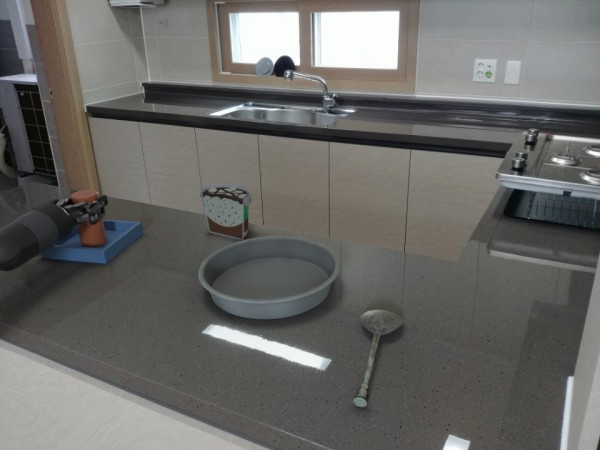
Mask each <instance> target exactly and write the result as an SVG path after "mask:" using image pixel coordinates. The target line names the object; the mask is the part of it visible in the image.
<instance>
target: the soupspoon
mask: <svg viewBox="0 0 600 450" xmlns="http://www.w3.org/2000/svg"><path fill="white" fill-rule="evenodd" d="M403 320H404V319H403V318H402V317H401V316H400V315H398V314H396V313H394V312H392V311H389V310H385V309H372V310H368V311H365V312H363V313H362V314H361V315H359V321H360V322H361V324H362V325H363V327H365V328H366V329H367V330H368V331H369V332H370V333H372V334H373V337H372V342H371V345H370V349H369V355H368V359H367V364H366V368H365V372H364V376H363V382H362V383H361V384H360V387H361V388H360V389H359V390H358V394H357V396H356V397H355V398H353V400H352V403H353V404H354V405H355V406H356V407H359V408H366V407H367V406H368V402H367V397H366V396H367V393H368V390H367V389H368V388H369V383H370V382H369V381H370V379H371V374H372V372H373V371H372V370H373V367H374V362H375V359H376V354H377V349H378V346H379V343H380V340H381V336H384V335H387V334H390V333H391V332H394V331H395V330H397V329H399V328H400V327H401V326H402V325H403V323H404V321H403Z"/></svg>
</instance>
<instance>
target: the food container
mask: <svg viewBox="0 0 600 450" xmlns="http://www.w3.org/2000/svg"><path fill="white" fill-rule="evenodd" d="M199 198H202V203H203V208H204V209H203V210H204V214H205V219H206V224H207V230H208V233H210V234H214V235H218V236H223V237H227V238H230V239H234V240H235V239H236V240H238V241H242V240H247V239H248V236H249V210H250V209H249V208H250V205H251V204H252V202H253V199H252V195H251V192H250V191H249V189H248V188H247V187H246V186H244V185H241V184H235V183H220V184H219V183H217V184H212V185H208V186H204V187H202V188H200V191H199Z"/></svg>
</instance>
